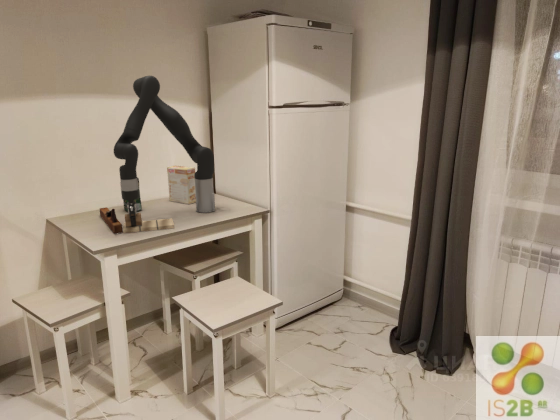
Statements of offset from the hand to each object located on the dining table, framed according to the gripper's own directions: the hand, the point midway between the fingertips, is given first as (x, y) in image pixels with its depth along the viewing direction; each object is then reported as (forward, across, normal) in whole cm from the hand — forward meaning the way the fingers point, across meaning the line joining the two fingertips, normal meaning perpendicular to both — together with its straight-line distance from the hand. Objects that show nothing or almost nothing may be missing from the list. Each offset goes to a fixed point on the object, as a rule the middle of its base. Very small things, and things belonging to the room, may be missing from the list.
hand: (133, 224), depth 201 cm
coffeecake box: (+2, +42, -27) cm, 50 cm away
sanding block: (0, 0, 0) cm, 0 cm away
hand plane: (+2, +12, +10) cm, 16 cm away
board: (+2, 0, -6) cm, 7 cm away
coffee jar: (+2, +33, 0) cm, 33 cm away
